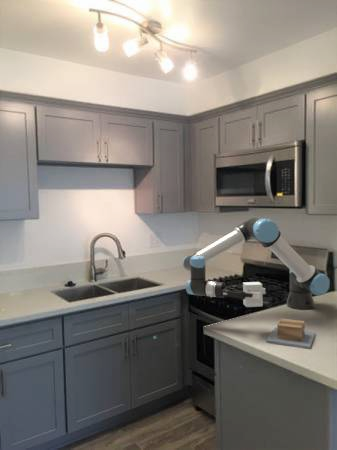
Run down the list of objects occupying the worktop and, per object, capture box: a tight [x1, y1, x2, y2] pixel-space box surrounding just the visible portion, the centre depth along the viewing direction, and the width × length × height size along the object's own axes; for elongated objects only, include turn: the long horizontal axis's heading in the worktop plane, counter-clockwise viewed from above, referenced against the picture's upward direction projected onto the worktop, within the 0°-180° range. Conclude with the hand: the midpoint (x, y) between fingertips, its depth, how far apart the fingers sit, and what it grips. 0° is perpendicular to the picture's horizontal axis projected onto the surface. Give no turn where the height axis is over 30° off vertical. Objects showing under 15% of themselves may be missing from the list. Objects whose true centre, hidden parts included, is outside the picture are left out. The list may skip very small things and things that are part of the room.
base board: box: [265, 327, 316, 350], centre depth 169 cm, size 18×18×1 cm
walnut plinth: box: [276, 318, 306, 342], centre depth 169 cm, size 10×10×6 cm
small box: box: [242, 281, 264, 308], centre depth 177 cm, size 8×6×10 cm
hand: (262, 293), depth 175 cm, fingers closed on small box, 9 cm apart
